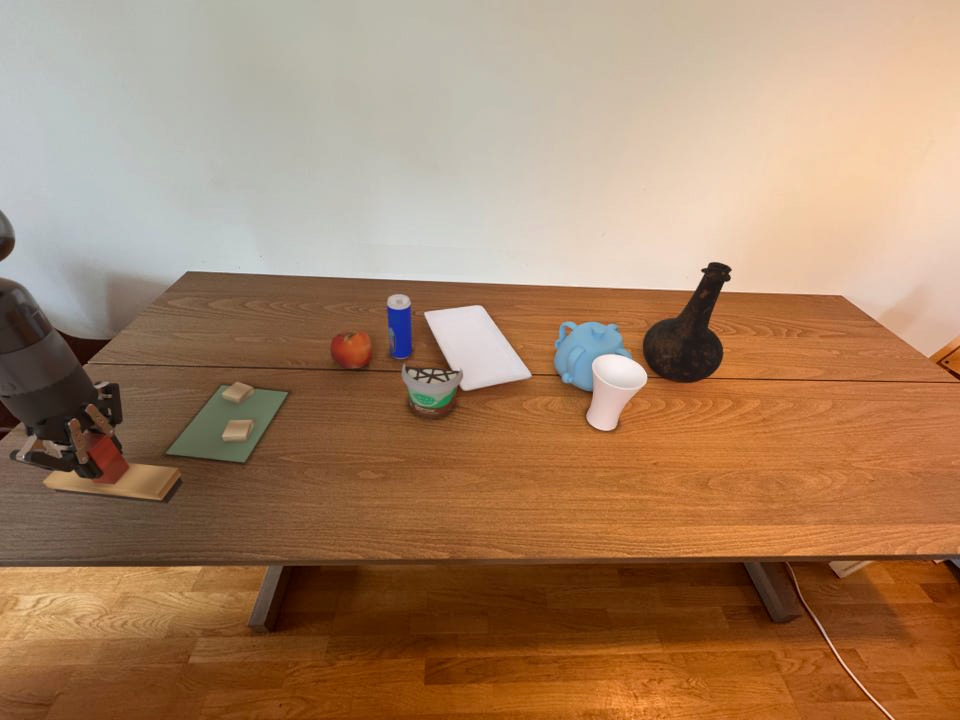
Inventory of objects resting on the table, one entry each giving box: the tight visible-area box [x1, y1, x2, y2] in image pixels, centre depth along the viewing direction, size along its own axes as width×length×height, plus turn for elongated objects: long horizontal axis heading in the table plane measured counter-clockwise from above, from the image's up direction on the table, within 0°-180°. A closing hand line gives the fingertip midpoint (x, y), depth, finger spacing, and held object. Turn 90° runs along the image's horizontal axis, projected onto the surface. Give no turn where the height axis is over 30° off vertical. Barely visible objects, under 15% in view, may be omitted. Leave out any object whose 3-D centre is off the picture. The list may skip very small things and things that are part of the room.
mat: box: [165, 384, 289, 464], centre depth 81 cm, size 18×14×1 cm
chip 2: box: [222, 420, 254, 442], centre depth 78 cm, size 4×4×2 cm
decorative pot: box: [553, 321, 634, 392], centre depth 96 cm, size 16×16×14 cm
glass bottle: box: [642, 261, 733, 384], centre depth 96 cm, size 18×18×28 cm
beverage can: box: [386, 293, 413, 360], centre depth 96 cm, size 5×5×15 cm
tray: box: [423, 305, 533, 392], centre depth 102 cm, size 17×32×4 cm, turn 22°
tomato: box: [330, 330, 373, 370], centre depth 94 cm, size 9×9×8 cm
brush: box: [42, 431, 184, 505], centre depth 58 cm, size 16×4×10 cm, turn 86°
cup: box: [586, 354, 648, 432], centre depth 85 cm, size 10×10×14 cm
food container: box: [401, 362, 463, 419], centre depth 84 cm, size 12×6×10 cm, turn 88°
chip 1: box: [222, 381, 254, 405], centre depth 85 cm, size 4×4×2 cm
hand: (104, 465), depth 58 cm, fingers closed on brush, 3 cm apart
